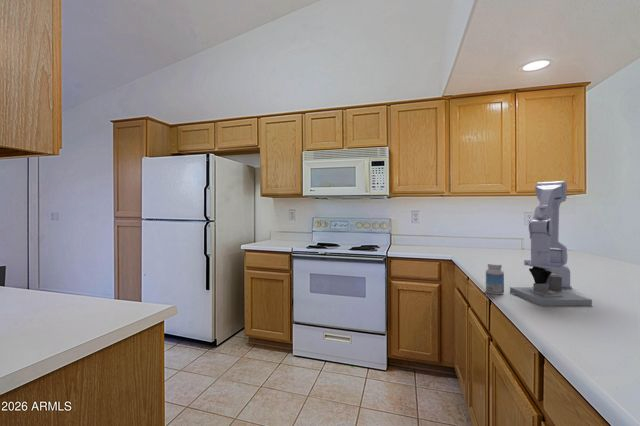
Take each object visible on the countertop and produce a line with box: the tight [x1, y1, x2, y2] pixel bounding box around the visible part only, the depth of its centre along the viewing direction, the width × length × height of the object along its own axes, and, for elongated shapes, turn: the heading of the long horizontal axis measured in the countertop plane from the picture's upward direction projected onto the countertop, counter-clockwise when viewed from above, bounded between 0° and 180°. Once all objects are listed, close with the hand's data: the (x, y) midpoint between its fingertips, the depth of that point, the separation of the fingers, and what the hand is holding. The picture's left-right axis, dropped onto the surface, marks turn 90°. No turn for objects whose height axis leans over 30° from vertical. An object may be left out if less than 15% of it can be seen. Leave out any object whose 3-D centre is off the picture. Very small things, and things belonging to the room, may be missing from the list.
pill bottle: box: [485, 262, 505, 295], centre depth 114 cm, size 6×6×11 cm
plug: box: [546, 273, 563, 291], centre depth 111 cm, size 4×4×6 cm
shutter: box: [531, 282, 564, 297], centre depth 104 cm, size 6×6×3 cm
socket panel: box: [509, 286, 593, 307], centre depth 106 cm, size 17×16×2 cm
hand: (540, 288), depth 109 cm, fingers closed
